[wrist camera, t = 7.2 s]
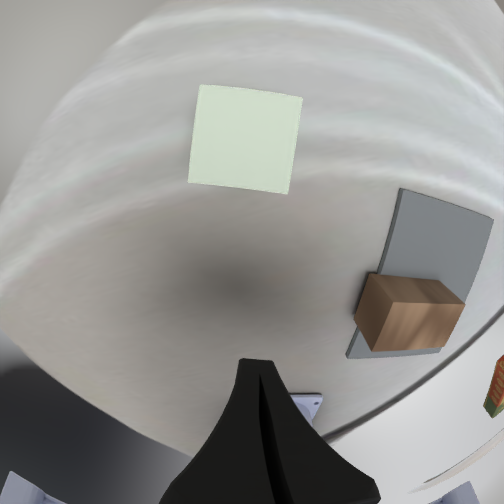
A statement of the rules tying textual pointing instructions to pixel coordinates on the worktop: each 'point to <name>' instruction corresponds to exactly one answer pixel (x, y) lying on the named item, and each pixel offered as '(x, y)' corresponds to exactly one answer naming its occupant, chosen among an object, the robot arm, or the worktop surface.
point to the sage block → (244, 138)
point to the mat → (430, 253)
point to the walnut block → (406, 313)
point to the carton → (496, 390)
